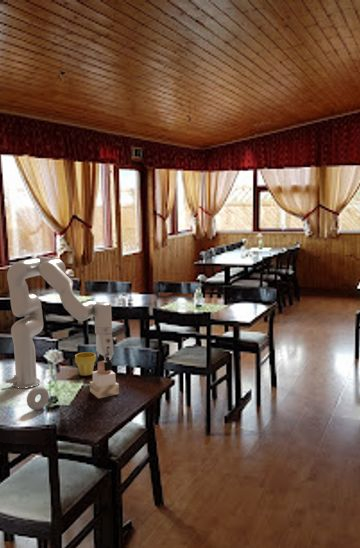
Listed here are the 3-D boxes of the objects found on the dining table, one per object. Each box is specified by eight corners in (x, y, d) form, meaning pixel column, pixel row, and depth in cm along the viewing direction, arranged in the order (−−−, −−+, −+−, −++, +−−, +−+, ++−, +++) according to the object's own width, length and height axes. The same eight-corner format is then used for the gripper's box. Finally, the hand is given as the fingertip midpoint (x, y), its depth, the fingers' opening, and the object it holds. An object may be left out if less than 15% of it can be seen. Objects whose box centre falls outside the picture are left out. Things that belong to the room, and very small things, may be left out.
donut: (29, 414, 226) (28, 390, 225) (25, 411, 229) (24, 388, 227) (51, 407, 233) (50, 384, 232) (46, 405, 236) (45, 382, 234)
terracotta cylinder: (100, 374, 245) (100, 365, 244) (95, 371, 250) (95, 361, 250) (113, 372, 248) (113, 362, 247) (108, 369, 253) (107, 359, 253)
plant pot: (75, 371, 281) (74, 352, 280) (96, 369, 283) (95, 351, 282) (75, 377, 271) (75, 358, 270) (96, 376, 273) (96, 357, 272)
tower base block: (98, 398, 243) (98, 388, 243) (90, 392, 252) (89, 381, 251) (119, 394, 248) (118, 384, 248) (110, 388, 257) (109, 377, 256)
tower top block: (99, 387, 244) (98, 376, 243) (92, 382, 251) (92, 371, 250) (115, 384, 248) (115, 373, 247) (109, 379, 255) (108, 368, 254)
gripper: (119, 332, 241) (120, 371, 243) (103, 325, 256) (104, 361, 258) (103, 335, 237) (104, 374, 240) (88, 327, 252) (89, 364, 254)
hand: (104, 367), depth 249 cm, fingers open, 7 cm apart
